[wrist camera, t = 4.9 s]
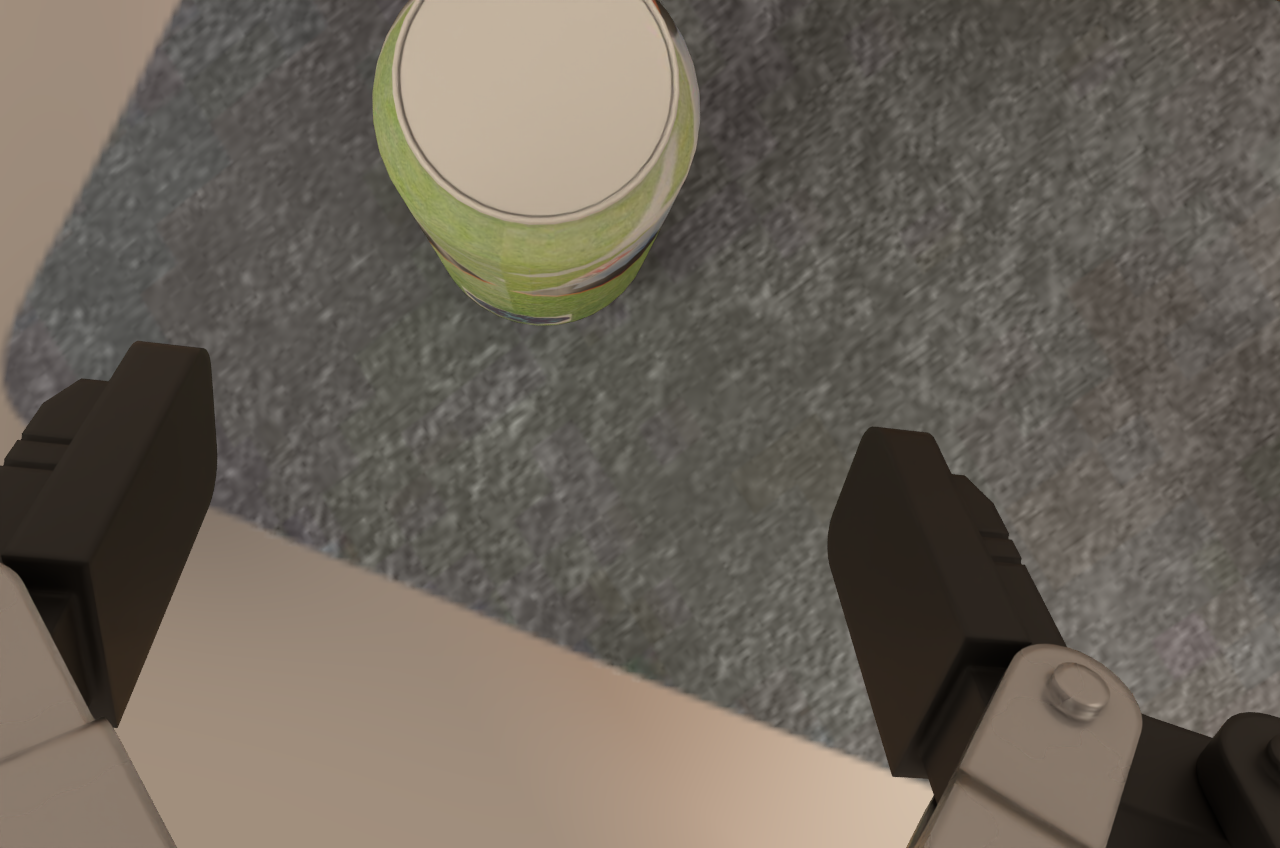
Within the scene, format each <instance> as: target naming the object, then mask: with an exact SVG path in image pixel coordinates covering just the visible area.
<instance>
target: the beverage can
mask: <svg viewBox="0 0 1280 848" xmlns="http://www.w3.org/2000/svg"><path fill="white" fill-rule="evenodd" d="M373 123H374V128H375V132H376V137H377V142H378V147H379V151H380V154H381V156H382V159H383V161H384V164H385V166H386V169H387V171H388V174H389V176H390V179H391V180H392V182H393V184H394V185H395V187H396V188H397V190H398V192H399V193H400V195H401V196H402V198H403V200H404V201H405V203H406V205H407V206H408V208H409V209H410V211H411V213H412V214H413V216H414V218H415V219H416V221H417V222H418V224H419V226H420V227H421V229H422V230H423V232H424V234H425V235H426V237H427V239H428V240H429V242H430V243H431V245H432V247H433V248H434V250H435V251H436V253H437V255H438V256H439V258H440V260H441V261H442V263H443V264H444V266H445V268H446V269H447V271H448V272H449V274H450V276H451V277H452V279H453V280H454V281H455V283H456V284H457V285H458V286H459V287H460V288H461V289H462V290H463V292H464V293H465V294H466V295H467V296H469V297H470V298H471V299H472V300H474V301H475V302H476V303H478V304H479V305H480V306H481V307H483V308H485V309H487V310H489V311H490V312H492V313H494V314H496V315H498V316H500V317H503V318H506V319H509V320H512V321H515V322H519V323H525V324H532V325H558V324H563V323H568V322H573V321H577V320H579V319H582V318H584V317H587V316H590V315H592V314H594V313H596V312H597V311H599V310H601V309H602V308H604V307H606V306H607V305H609V304H610V303H611V302H612V301H614V300H615V299H616V298H617V297H618V296H619V295H620V294H622V293H623V292H624V291H625V289H626V288H627V287H628V285H629V284H630V283H631V282H632V280H633V279H634V278H635V277H636V275H637V273H638V271H639V269H640V267H641V266H642V264H643V262H644V260H645V258H646V256H647V254H648V252H649V250H650V248H651V246H652V244H653V242H654V240H655V238H656V236H657V234H658V232H659V230H660V229H661V227H662V225H663V223H664V221H665V219H666V217H667V215H668V213H669V211H670V209H671V207H672V205H673V203H674V201H675V199H676V197H677V195H678V193H679V191H680V189H681V187H682V185H683V183H684V181H685V179H686V177H687V175H688V172H689V169H690V166H691V163H692V160H693V157H694V154H695V151H696V146H697V139H698V132H699V125H700V97H699V88H698V83H697V78H696V74H695V69H694V64H693V61H692V59H691V56H690V54H689V51H688V48H687V46H686V43H685V41H684V38H683V36H682V35H681V33H680V31H679V30H678V28H677V26H676V25H675V23H674V21H673V20H672V18H671V16H670V15H669V13H668V12H667V10H666V9H665V8H664V7H663V6H662V5H661V3H660V2H659V1H658V0H409V1H408V3H407V4H406V5H405V6H404V7H403V9H402V10H401V11H400V13H399V15H398V16H397V18H396V20H395V22H394V23H393V25H392V27H391V29H390V31H389V32H388V34H387V36H386V39H385V42H384V45H383V47H382V50H381V53H380V56H379V59H378V62H377V67H376V73H375V80H374V86H373Z"/></svg>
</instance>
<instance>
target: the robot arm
mask: <svg viewBox="0 0 1280 848" xmlns="http://www.w3.org/2000/svg"><path fill="white" fill-rule="evenodd" d="M216 471H217V443H216V428H215V414H214V400H213V386H212V372H211V362H210V357H209V354H208V352H207V350H206V349H204V348H195V347H187V346H178V345H169V344H160V343H152V342H143V341H136V342H135V343H133V344H132V346H131V347H130V348H129V350H128V352H127V353H126V355H125V356H124V358H123V360H122V361H121V363H120V364H119V366H118V368H117V369H116V371H115V372H114V374H113V376H112V377H111V379H110V380H109V381H100V380H91V379H80V380H78V381H77V382H75V383H74V384H72V385H71V386H69V387H67V388H66V389H64V390H63V391H61V392H60V393H58V394H57V395H55V396H53V397H52V398H50V399H49V400H47V401H46V402H44V403H43V404H42V405H41V407H40V408H39V410H38V411H37V413H36V414H35V416H34V417H33V418H32V420H31V421H30V423H29V424H28V426H27V427H26V429H25V430H24V431H23V433H22V439H21V440H17V442H16V443H15V444H14V446H13V447H12V449H11V450H10V452H9V453H8V455H7V456H6V458H5V459H4V465H3V466H0V848H177V847H176V845H175V843H174V841H173V839H172V837H171V835H170V834H169V832H168V830H167V828H166V826H165V824H164V822H163V820H162V818H161V817H160V815H159V813H158V811H157V809H156V807H155V805H154V803H153V801H152V800H151V798H150V796H149V794H148V792H147V790H146V788H145V786H144V784H143V782H142V780H141V779H140V777H139V775H138V773H137V771H136V769H135V767H134V765H133V764H132V761H131V760H130V758H129V756H128V754H127V752H126V750H125V748H124V746H123V744H122V743H121V741H120V739H119V737H118V735H117V733H116V732H115V730H114V728H118V725H119V723H120V721H121V718H122V716H123V713H124V711H125V709H126V706H127V703H128V701H129V699H130V696H131V694H132V692H133V689H134V687H135V684H136V682H137V679H138V677H139V675H140V672H141V670H142V667H143V665H144V663H145V660H146V658H147V655H148V653H149V650H150V648H151V645H152V643H153V641H154V638H155V636H156V633H157V631H158V629H159V626H160V624H161V621H162V619H163V617H164V614H165V612H166V609H167V607H168V604H169V602H170V600H171V597H172V595H173V592H174V590H175V587H176V585H177V583H178V580H179V578H180V575H181V573H182V571H183V568H184V566H185V563H186V561H187V558H188V556H189V554H190V551H191V549H192V546H193V544H194V541H195V539H196V537H197V534H198V532H199V529H200V527H201V525H202V522H203V520H204V517H205V515H206V513H207V510H208V508H209V505H210V502H211V499H212V495H213V491H214V486H215V480H216ZM1008 536H1009V533H1008V531H1007V529H1006V527H1005V525H1004V523H1003V521H1002V519H1001V517H1000V515H999V513H998V511H997V509H996V508H995V506H994V504H993V503H992V502H991V501H990V500H989V499H988V498H987V497H986V496H985V495H984V494H983V493H982V492H981V491H980V490H979V489H978V488H977V487H976V486H975V485H974V484H973V483H972V482H971V481H970V480H969V479H968V478H967V477H966V476H964V475H955V474H951V472H950V470H949V468H948V466H947V464H946V462H945V459H944V457H943V455H942V453H941V451H940V449H939V447H938V445H937V443H936V441H935V439H934V437H933V436H932V435H931V434H929V433H926V432H917V431H908V430H900V429H891V428H882V427H870V428H869V429H868V430H867V431H866V432H865V433H864V435H863V437H862V439H861V441H860V444H859V446H858V449H857V452H856V454H855V457H854V459H853V462H852V465H851V467H850V470H849V472H848V475H847V478H846V480H845V483H844V486H843V488H842V491H841V493H840V496H839V499H838V501H837V504H836V507H835V509H834V512H833V515H832V518H831V521H830V526H829V532H828V559H829V564H830V568H831V572H832V575H833V578H834V582H835V585H836V588H837V592H838V595H839V599H840V602H841V605H842V609H843V612H844V615H845V619H846V622H847V626H848V629H849V632H850V636H851V639H852V642H853V646H854V649H855V652H856V656H857V659H858V663H859V666H860V669H861V673H862V676H863V679H864V683H865V686H866V689H867V693H868V696H869V700H870V703H871V706H872V710H873V713H874V716H875V720H876V723H877V726H878V730H879V733H880V737H881V740H882V743H883V747H884V750H885V753H886V757H887V760H888V763H889V767H890V770H891V774H892V776H893V777H908V778H925V779H929V782H930V785H931V788H932V791H933V794H934V796H933V798H932V800H931V801H930V803H929V805H928V807H927V808H926V810H925V812H924V814H923V816H922V818H921V820H920V822H919V824H918V826H917V828H916V830H915V831H914V833H913V836H912V838H911V839H910V842H909V843H908V845H907V847H906V848H1280V718H1278V717H1275V716H1271V715H1268V714H1263V713H1255V712H1246V713H1239V714H1237V715H1234V716H1232V717H1231V718H1229V719H1228V720H1227V721H1226V722H1225V723H1224V725H1223V726H1222V727H1221V728H1220V730H1219V731H1218V732H1217V733H1216V735H1215V736H1214V737H1213V738H1211V737H1208V736H1205V735H1202V734H1199V733H1196V732H1193V731H1190V730H1187V729H1184V728H1181V727H1178V726H1175V725H1172V724H1169V723H1166V722H1163V721H1161V720H1158V719H1155V718H1152V717H1149V716H1146V715H1144V714H1141V711H1140V708H1139V705H1138V703H1137V701H1136V700H1135V698H1134V696H1133V694H1132V693H1131V692H1130V690H1129V689H1128V687H1127V686H1126V685H1125V684H1124V683H1123V682H1122V681H1121V680H1120V678H1118V677H1117V676H1116V675H1115V674H1114V673H1113V672H1112V671H1111V670H1109V669H1108V668H1107V667H1105V666H1104V665H1103V664H1101V663H1100V662H1098V661H1096V660H1095V659H1093V658H1091V657H1090V656H1087V655H1085V654H1083V653H1081V652H1079V651H1076V650H1073V649H1071V648H1068V647H1067V646H1066V644H1065V642H1064V640H1063V638H1062V636H1061V634H1060V632H1059V630H1058V628H1057V627H1056V625H1055V623H1054V621H1053V619H1052V617H1051V615H1050V613H1049V611H1048V609H1047V607H1046V605H1045V603H1044V601H1043V599H1042V597H1041V595H1040V593H1039V591H1038V589H1037V587H1036V586H1035V584H1034V582H1033V580H1032V578H1031V576H1030V574H1029V572H1028V570H1027V568H1026V566H1025V565H1022V564H1021V559H1022V558H1021V556H1020V554H1019V552H1018V550H1017V548H1016V547H1015V545H1014V543H1013V541H1012V540H1009V539H1008Z"/></svg>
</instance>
